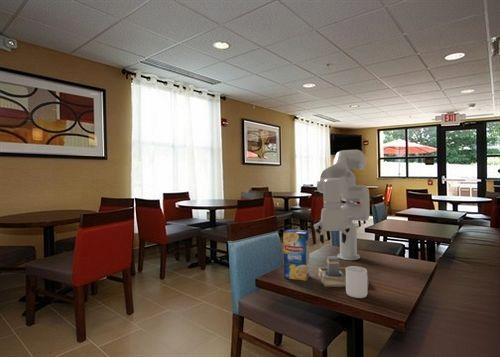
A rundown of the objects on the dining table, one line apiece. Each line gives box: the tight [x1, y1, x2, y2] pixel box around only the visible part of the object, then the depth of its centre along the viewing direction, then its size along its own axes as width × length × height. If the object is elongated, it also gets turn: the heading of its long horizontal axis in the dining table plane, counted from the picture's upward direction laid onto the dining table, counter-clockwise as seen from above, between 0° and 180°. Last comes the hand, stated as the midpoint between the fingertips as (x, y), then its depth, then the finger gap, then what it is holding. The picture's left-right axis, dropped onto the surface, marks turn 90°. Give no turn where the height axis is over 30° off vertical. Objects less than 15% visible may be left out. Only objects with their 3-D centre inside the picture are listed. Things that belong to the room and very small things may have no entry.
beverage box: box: [282, 229, 310, 282], centre depth 142 cm, size 7×11×22 cm, turn 67°
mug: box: [345, 265, 368, 299], centre depth 122 cm, size 12×8×10 cm
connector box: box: [317, 267, 370, 288], centre depth 135 cm, size 14×19×4 cm
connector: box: [326, 255, 340, 276], centre depth 136 cm, size 5×5×10 cm
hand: (332, 242), depth 136 cm, fingers open, 9 cm apart
